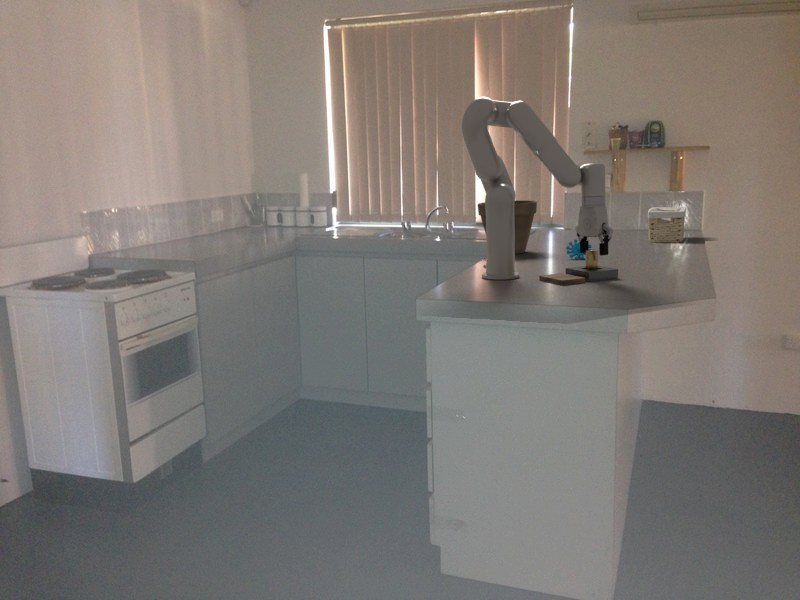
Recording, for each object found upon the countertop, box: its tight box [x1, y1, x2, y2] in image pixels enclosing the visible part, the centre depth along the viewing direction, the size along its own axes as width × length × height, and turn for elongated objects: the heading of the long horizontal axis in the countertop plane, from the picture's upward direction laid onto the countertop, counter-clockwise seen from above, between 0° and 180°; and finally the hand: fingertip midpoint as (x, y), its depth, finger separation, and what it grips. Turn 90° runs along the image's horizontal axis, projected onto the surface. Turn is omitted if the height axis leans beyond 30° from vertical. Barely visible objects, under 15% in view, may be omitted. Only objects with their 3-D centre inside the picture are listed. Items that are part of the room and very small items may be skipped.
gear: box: [565, 238, 596, 261], centre depth 284 cm, size 11×6×10 cm
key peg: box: [584, 249, 599, 270], centre depth 237 cm, size 4×4×9 cm
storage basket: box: [647, 206, 687, 244], centre depth 334 cm, size 24×16×15 cm
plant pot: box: [477, 199, 538, 255], centre depth 307 cm, size 25×25×22 cm
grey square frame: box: [565, 265, 619, 282], centre depth 238 cm, size 12×12×3 cm
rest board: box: [538, 272, 586, 286], centre depth 232 cm, size 12×9×2 cm
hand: (593, 253), depth 237 cm, fingers open, 9 cm apart
